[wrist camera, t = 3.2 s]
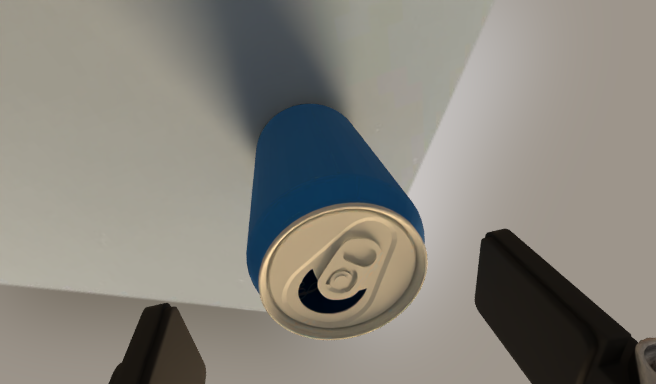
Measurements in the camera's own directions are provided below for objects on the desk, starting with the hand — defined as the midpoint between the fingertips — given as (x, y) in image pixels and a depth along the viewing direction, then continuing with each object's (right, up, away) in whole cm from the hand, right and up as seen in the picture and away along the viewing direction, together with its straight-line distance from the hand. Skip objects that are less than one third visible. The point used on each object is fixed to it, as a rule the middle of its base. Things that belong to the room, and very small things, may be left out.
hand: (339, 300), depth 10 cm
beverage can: (-2, +6, +11) cm, 13 cm away
